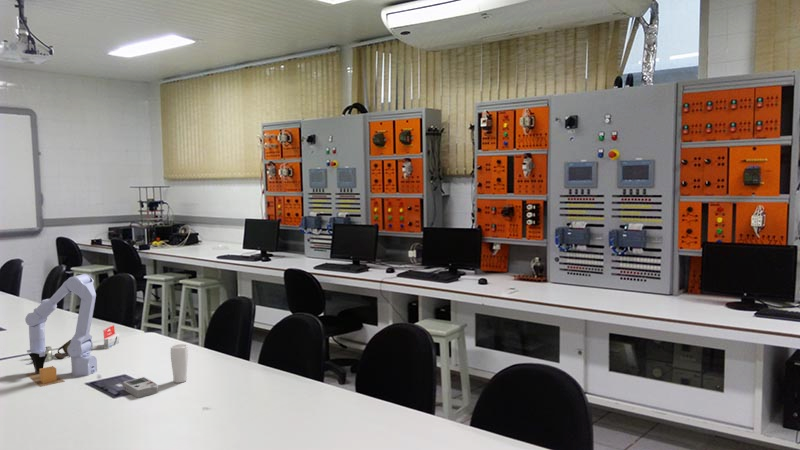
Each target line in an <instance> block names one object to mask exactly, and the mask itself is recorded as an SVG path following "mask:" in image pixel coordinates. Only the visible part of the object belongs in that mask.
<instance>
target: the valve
mask: <svg viewBox="0 0 800 450" xmlns="http://www.w3.org/2000/svg"><path fill="white" fill-rule="evenodd" d="M45 348H46V351H45V354H47V357H46V359H45V361H44V363H49V362H52V361H53V357H52V356H53V351H52V349H53V348H52V346H45Z"/></svg>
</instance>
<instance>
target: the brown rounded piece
mask: <svg viewBox="0 0 800 450" xmlns="http://www.w3.org/2000/svg"><path fill="white" fill-rule="evenodd" d="M70 343H71V339H69V340H68V341H67V342H65V343H64V344H63V345H61V346H59V348H58V349H57V352H56V353H54V357H55V358H56V359H59V360H62V359H65V358H66V357H68V356H70V355H69V354H68V352H67V348H68V346H69V345H70ZM61 349H62V351H63V352H64V353H62V352H60V350H61Z"/></svg>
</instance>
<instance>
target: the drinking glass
mask: <svg viewBox="0 0 800 450" xmlns="http://www.w3.org/2000/svg"><path fill="white" fill-rule="evenodd" d="M188 352H189V348H188V345H187V344H184V343H181V344H180V343H179V344H174V345H171V346H170V362H171V369H172V376H173V378H172V379H173V380H172V381H173V382H174V384H175V383H176V384H179V383H184V382H187V379H188V360H189V353H188Z"/></svg>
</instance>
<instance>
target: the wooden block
mask: <svg viewBox="0 0 800 450" xmlns="http://www.w3.org/2000/svg"><path fill="white" fill-rule="evenodd" d="M25 375H26V376H27V377H29V379H30V380H32V381H33V382H34V383H35V384H36V385H38V386H39V387H41V388H42V387H45V386H50V385H55V384H60V383H64V382H66V381H65V380H64V379H62V378H61V377H60V376H59V375H57V380H56V381H51V382H47V383H42V382H41V381H40V371H37V370H36V366H35V368H34V371H32V372H27V373H25Z"/></svg>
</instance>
